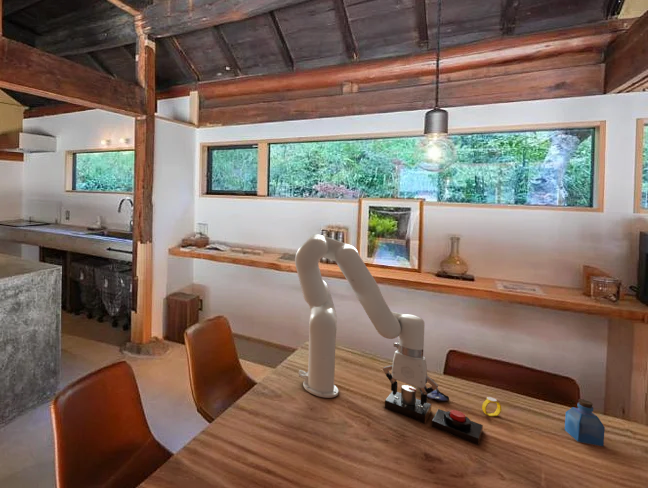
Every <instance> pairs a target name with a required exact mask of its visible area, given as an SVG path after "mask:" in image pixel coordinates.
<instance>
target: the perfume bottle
mask: <svg viewBox="0 0 648 488" xmlns="http://www.w3.org/2000/svg"><path fill="white" fill-rule="evenodd" d="M577 400H578V402H577V404H576V405H577V407H574V406H572V407H571V408H569V409H568V410H566V411H565V418H564V431H565V432H566V433H567V434H569V435H570V437H572V438H573V439H574V440H575V441H576V442H578V443H582V444H588V445H593V446H598V447H604V444H605V429H606V427H605V425H604V424H603V422H602V421H601V419H600V418H599V416H598V415H597V414H595V413H593V412H594V407H593V406H594V404H593V402H592V401H589V400H586V399H582V398H578V399H577Z"/></svg>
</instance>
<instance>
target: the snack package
mask: <svg viewBox="0 0 648 488" xmlns="http://www.w3.org/2000/svg"><path fill="white" fill-rule="evenodd" d="M432 380H433V381H434V382H435V380H434V379H432ZM435 383H436V382H435ZM416 388H417V390H419V392H420V394H421V393H422V391H421V389H420V388H419V387H416ZM427 400H436V401H437V402H438V403H439V402H441V403H445V402H450V397H449V396H448V395H446V394H444V393H443V392H441V391H440V390H439V387H438V388H436V389H435V390H434V391H433V392H431V393H429V394H427Z"/></svg>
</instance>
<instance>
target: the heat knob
mask: <svg viewBox="0 0 648 488" xmlns="http://www.w3.org/2000/svg"><path fill="white" fill-rule="evenodd" d="M400 393H401V401H402V402H403V403H405V404H407V405H415V404H416V399H417V389H416V388H415V387H414V386H412V385H409V384H402V385H401V389H400Z"/></svg>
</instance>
